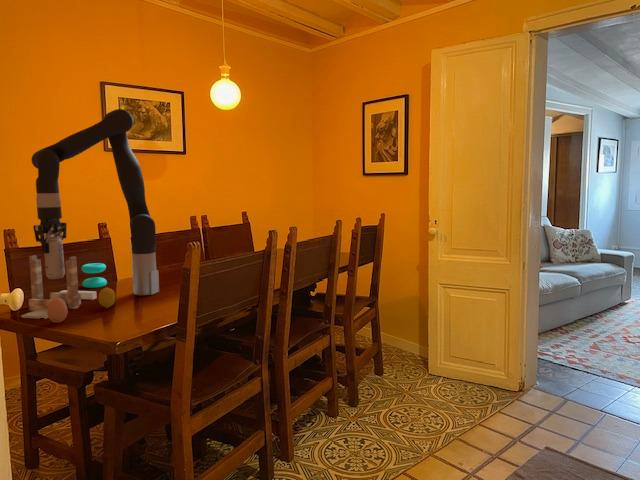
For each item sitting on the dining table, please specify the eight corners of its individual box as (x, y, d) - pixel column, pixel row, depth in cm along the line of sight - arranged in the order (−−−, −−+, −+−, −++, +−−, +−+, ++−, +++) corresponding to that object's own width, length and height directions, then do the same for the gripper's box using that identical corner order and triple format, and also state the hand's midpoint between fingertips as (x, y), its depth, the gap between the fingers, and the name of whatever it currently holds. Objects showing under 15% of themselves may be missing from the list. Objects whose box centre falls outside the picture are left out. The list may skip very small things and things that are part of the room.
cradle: (87, 304, 171) (84, 254, 169) (66, 312, 160) (62, 259, 158) (46, 302, 174) (43, 253, 172) (23, 310, 162) (19, 258, 160)
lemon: (119, 307, 167) (118, 286, 166) (107, 310, 162) (106, 289, 161) (107, 305, 169) (106, 284, 168) (95, 309, 163) (94, 287, 163)
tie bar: (96, 298, 181) (96, 291, 181) (92, 300, 179) (92, 292, 178) (64, 297, 183) (64, 290, 183) (60, 298, 181) (59, 291, 180)
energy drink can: (48, 276, 167) (44, 236, 166) (66, 275, 169) (63, 236, 168) (44, 280, 162) (41, 238, 160) (63, 278, 164) (60, 237, 162)
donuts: (76, 266, 198) (90, 262, 208) (77, 288, 199) (91, 283, 209) (97, 266, 197) (110, 262, 207) (98, 288, 198) (111, 284, 208)
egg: (61, 319, 151) (60, 294, 150) (71, 321, 148) (70, 297, 147) (44, 323, 146) (42, 298, 145) (54, 326, 143) (52, 300, 142)
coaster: (64, 311, 160) (63, 309, 160) (45, 318, 152) (45, 316, 151) (41, 310, 162) (41, 308, 162) (21, 317, 153) (21, 315, 153)
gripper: (43, 206, 155) (47, 255, 157) (72, 205, 169) (75, 249, 171) (24, 207, 156) (28, 254, 158) (53, 205, 170) (57, 249, 172)
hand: (52, 251), depth 165 cm, fingers closed on energy drink can, 6 cm apart
